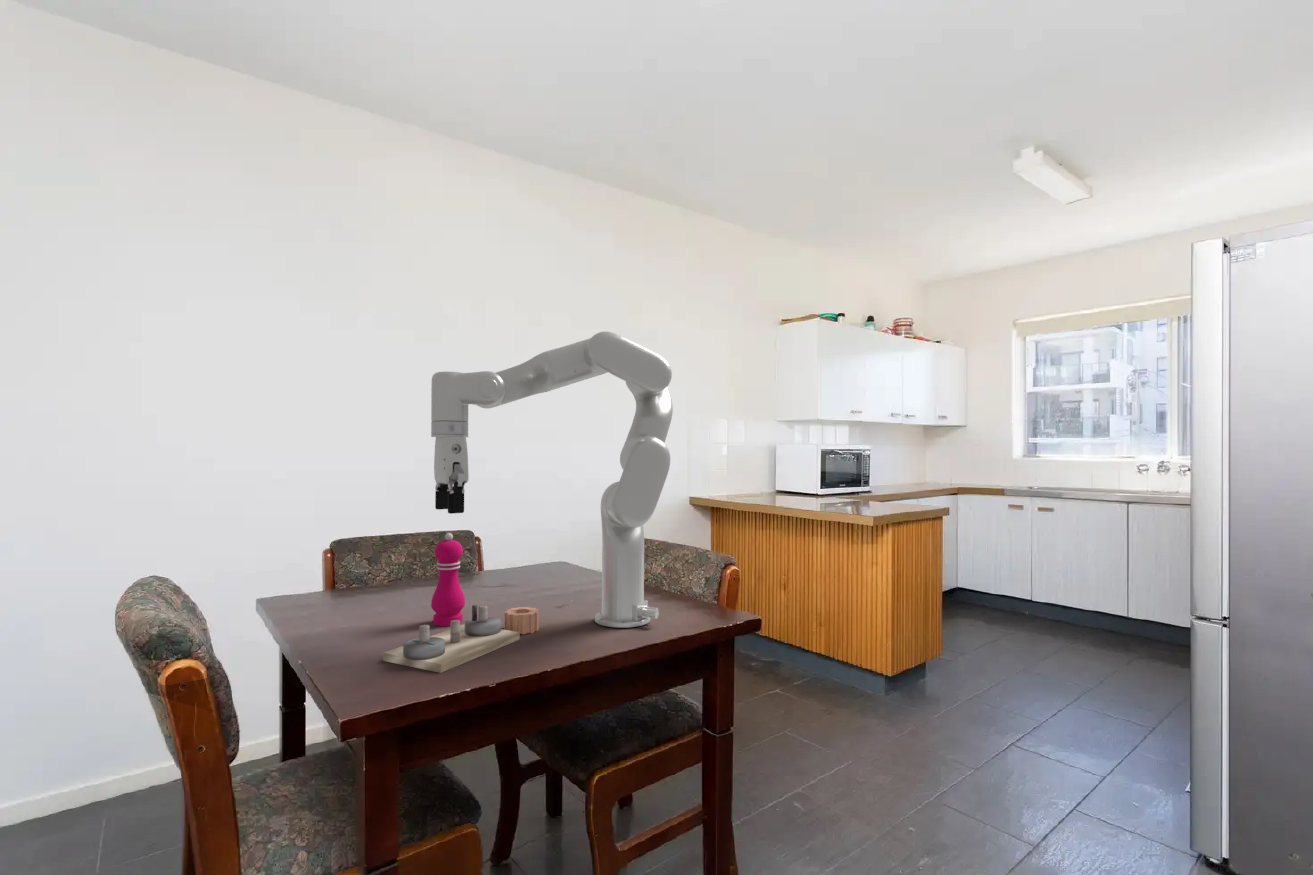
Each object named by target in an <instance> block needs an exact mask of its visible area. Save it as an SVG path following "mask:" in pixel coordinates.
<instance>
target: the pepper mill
mask: <svg viewBox="0 0 1313 875" xmlns="http://www.w3.org/2000/svg"><path fill="white" fill-rule="evenodd" d="M453 538H454V535H453V534H452V533H451V532H447V533H446V534H445V535H444V539H445V540H442V541H440V542H438V543H437V545H436V546H435V549H434V556H435V558H436V560H437V563H436V569H437V570H438V581H437V586H436V588H435V590H434V592H433V594H432V597H431V600H430V601H431V603H430V606H431V610H433V611H434V613H435V614H434V615H433V617H432V618H433V619H432V621H433V622H432V624H433V625H434V626H436V627H450V624H451V621H452V620H460V624H462V623H463V621H464V620H463V618H464V617H463V615H464V614H463V613H462V612H461V611H462V609H464V608H465V605H466V599H465V594H464V591H463V589H462V586H461V585H460V579H459V570H460V568H461V561H459V560H460V559H461V558H462V557H463V553H464V549H463V546H462V544H461V543H460V542H459V541H457V540H454V539H453ZM461 622H462V623H461Z"/></svg>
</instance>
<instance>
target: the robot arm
mask: <svg viewBox="0 0 1313 875" xmlns="http://www.w3.org/2000/svg"><path fill="white" fill-rule="evenodd" d="M672 371H673V370H672V368H671V365H670V363H669V362H668V361H667V359H665V358H664V357H663V356H661V355H660V354H659V353H656V352H654V351H652V350H650V349H648V348H646V347H644V346H642V345H640V344H638V343H636V342H634V341H632V340H630V339H628V338H626V337H624V336H621V335H619V334H617V333H615V332H611V331H600V332H597V333H595V334H594V335H593V336H591V337H590V338H587V339H584V340H581V341H580V340H579V341H576V342H574V343H571V344H570V343H569V344H567V345H564V346H561V347H558V348H553V349H550V350H546V351H543V352H541V353H539V354H537V355H535V356H534V357H532V358H530V359H528V360H527V361H524V362H522V363H520V364H517V365H514V366H512V367H510V368H509V367H508V368H506V369H503V370H500V371H496V372H493V371H489V370H487V371H486V370H485V371H484V370H483V371H473V372H459V371H438V372H435V373H434V374H433V375H432V377H431V406H430V408H431V409H430V410H431V411H430V412H431V413H430V414H431V416H430V419H431V422H430V425H431V426H430V430H431V431H430V437H431V438H435V440H434V455H433V456H434V457H433V458H434V460H433V468H434V469H433V473H434V474H433V476H434V477H433V478H434V480H435V487H434V488H435V506H434V507H435V510H447V513H448V514H462V513H463V514H464V513H465V487H464V486H465V484H467V483H468V482H469V479H470V478H469V475H470V474H469V453H468V443H467V438H469V405H473V406H474V405H475V406H478V407H480V408H481V409H493V408H496V407H499V406H503V405H506V404H509V403H512V402H516V401H518V400H521V399H525V398H527V397H530V396H534V395H537V394H538V395H539V394H542V393H543V394H544V393H549V392H551V391H554V390H558V389H560V388H563V387H567V386H570V385H572V384H576V383H579V382H583V381H584V380H588V379H592V378H596V377H598V376H602V375H604V374H607V373H609V375H610V374H611V375H612V376H614V377H617V378H619V379H621V380H623V381H624V382H625V385H626V387H627V388H628V390H629V391H630V392H631V394H632V395H633V398H634V400H635V412H634V416H633V419H632V423H631V426H630V427H629V428H630V429H629V431H628V432H627V436H626V440H625V442H624V443H623V447H622V449H621V451H620V454H619V455H620V456H619V463H620V466H621V469H622V473H621V476H620V479H619V481H615V482H613V483H611V484H610V485H608V487H607V488H606V489H605V490H604V492H603V493H602V495H601V496H602V497H601V500H600V517H601V533H602V535H601V538H602V540H601V541H602V543H601V544H602V548H601V549H602V551H601V560H602V561H601V611H599V612H597V613H596V614H595V615H594V622H595V623H596V624H598V625H599V626H602V627H609V628H617V629H619V628H620V629H625V628H635V627H636V628H637V627H641V626H644V625H647V624H649V623H650V621H651V619H656V620H657V619H658V618H659V615H660V611H659V608H658V607H653V606H651V607H650V606H649V600H648V599H647V600H646V599H645V596H644V595H645V594H644V593H645V591H644V590H645V532H644V525H645V524H646V523H648V522H649V521H650V519H651V518H652V517H653V514H654V512H655V510H656V508H657V505H658V502H659V500H660V496H661V494H662V491H663V489H664V485H665V483H666V480H667V477H668V474H669V472H670V466H671V454H670V450H669V447H668V446H667V444H665V442H666V440H667V437H668V433H669V429H670V425H671V421H672V419H673V418H672V417H673V412H674V411H673V410H674V408H673V401H672V398H671V397H672V396H671V394H670V391H669V389H668V386H669V385H670V383H671V382H672V381H671V380H672V375H673V374H672V373H673V372H672Z"/></svg>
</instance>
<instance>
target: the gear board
mask: <svg viewBox="0 0 1313 875" xmlns="http://www.w3.org/2000/svg"><path fill="white" fill-rule="evenodd" d="M488 611H489V609H488V606H487V605H481V606H478V605H477V604H474V605H472V606H471V618H469V619H467V620H465V621H464V623H463V624H461V623H460V620H452V621H451V624H450V626H449V628H450V629H447V630H444V631H442V632H438V633H436V634H433V635H430V633H431V632H430V628H431V627H430V625H429V624H422V625H421V624H420V625H419V626H418V632H419V633H418V637H415V638H412V639H409V640H406V641H404V642H403V644H402V646H398V647H396V648H393V649H391V650H390V649H389V650H387V651H384V652H383V654H382V660H383V662H387V663H392V664H396V665H401V666H406V667H411V668H415V669H420V670H426V671H430V672H435V673H439V674H442V673H445V672H446V671H448V670H451V669H454V668H456V667H458V666H460V665H463V664H466V663H468V662H471V661H472V660H474V659H477V658H480V657H482V656H484V655H486V654H489V653H492V652H493V651H497V650H498V649H501V648H502V647H505V646H507V645H510V644H513V643H515V642H517V641H519V640H521V639H520V638H521V637H520V635H521V634H520V632H516V631H509V630H504V629H503V628H502V619H500V618H498V617H493V616H489V615H488V613H489V612H488Z"/></svg>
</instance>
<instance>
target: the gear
mask: <svg viewBox="0 0 1313 875" xmlns="http://www.w3.org/2000/svg"><path fill="white" fill-rule="evenodd" d="M503 615H504V617H503V618H504V619H503V620H504V623H503V624H504V629H503V630H509V631H516V632H520V635H526V634H533V633H535V632H539V629H540V609H538V608H537V607H531V606H524V607H523V606H517V607H510V609H506V610H505V611H504V614H503Z"/></svg>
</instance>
